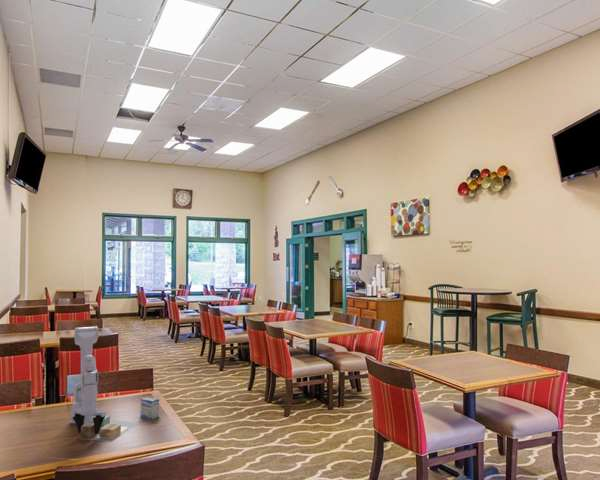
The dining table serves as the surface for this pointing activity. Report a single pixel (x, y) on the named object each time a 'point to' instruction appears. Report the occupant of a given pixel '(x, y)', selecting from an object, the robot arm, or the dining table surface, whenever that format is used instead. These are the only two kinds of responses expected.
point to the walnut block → (88, 431)
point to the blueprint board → (124, 427)
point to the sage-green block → (105, 421)
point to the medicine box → (149, 408)
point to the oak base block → (110, 430)
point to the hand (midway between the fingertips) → (89, 432)
